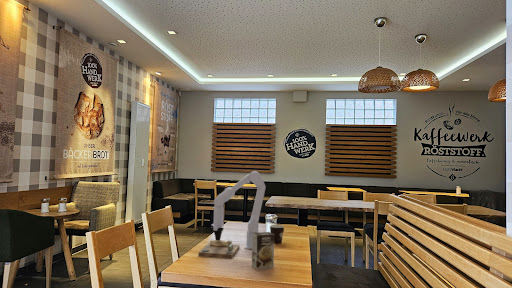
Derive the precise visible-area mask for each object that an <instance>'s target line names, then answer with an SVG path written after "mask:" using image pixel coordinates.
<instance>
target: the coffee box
mask: <svg viewBox="0 0 512 288" xmlns="http://www.w3.org/2000/svg"><path fill="white" fill-rule="evenodd" d="M274 237H275V234H273V233H271V232H269V231H263V232H260V233H253V246H252V249H251V250H252V251H251V255H252V256H251V267H252V268H254V269H255V270H257V271H258V270H267V269H268V270H269V269H274V266H275V265H274V264H275V263H274V262H275V244H274Z"/></svg>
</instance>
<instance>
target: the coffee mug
mask: <svg viewBox="0 0 512 288" xmlns="http://www.w3.org/2000/svg"><path fill="white" fill-rule="evenodd" d="M269 231H270V233H273V234H275V237H274V245H279V244H282V243H283V235H284V231H285V226H284V225H281V224H271V225H270V226H269Z"/></svg>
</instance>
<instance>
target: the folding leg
mask: <svg viewBox="0 0 512 288" xmlns="http://www.w3.org/2000/svg"><path fill="white" fill-rule="evenodd" d="M209 243H210V245H215V246H229V245H230V244H233V241H232V240H221V239H220V240H216V239H210V240H209Z"/></svg>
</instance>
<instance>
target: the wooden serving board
mask: <svg viewBox="0 0 512 288" xmlns="http://www.w3.org/2000/svg"><path fill="white" fill-rule="evenodd" d="M239 250H240V244H234V243H232V244H230V245H229V246H215V245H210V242H208V243H207V244H206V245H205V246H204V247H203V248H201V249H200V250H199V251H198V257H205V258H220V259H234V257H235V255H236V254H237V253H238V251H239Z"/></svg>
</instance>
